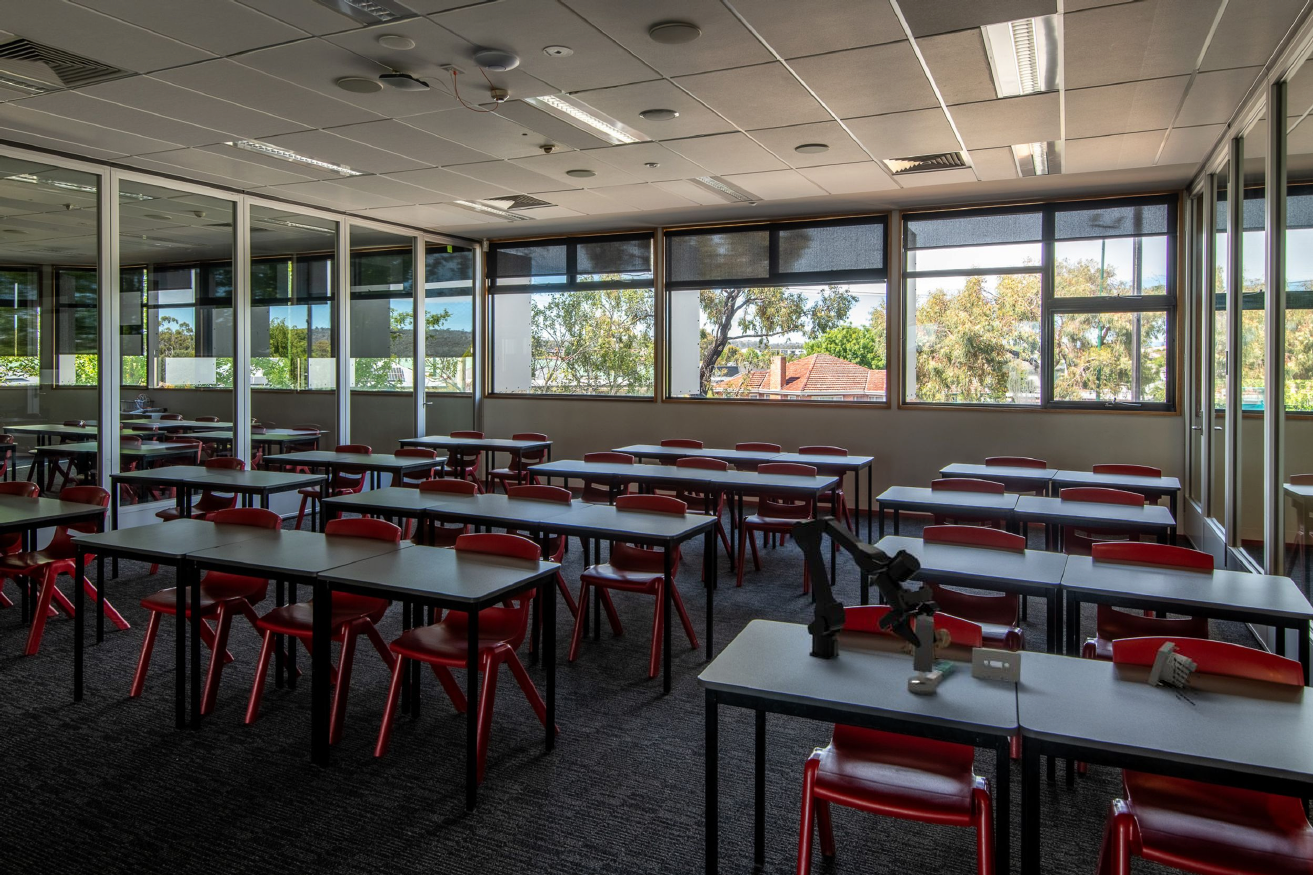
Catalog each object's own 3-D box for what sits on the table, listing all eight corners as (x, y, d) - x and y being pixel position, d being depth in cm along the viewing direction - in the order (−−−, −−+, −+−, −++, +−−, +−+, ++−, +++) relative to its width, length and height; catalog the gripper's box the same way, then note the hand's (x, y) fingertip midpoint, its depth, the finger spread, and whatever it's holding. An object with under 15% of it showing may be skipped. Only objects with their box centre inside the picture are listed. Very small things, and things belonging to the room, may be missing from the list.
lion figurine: (953, 660, 235) (954, 628, 234) (945, 664, 231) (946, 633, 230) (904, 648, 244) (905, 618, 244) (895, 652, 240) (896, 622, 240)
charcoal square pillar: (913, 670, 209) (915, 620, 208) (913, 664, 213) (914, 615, 212) (932, 672, 208) (933, 621, 207) (931, 666, 212) (932, 616, 211)
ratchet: (903, 691, 211) (903, 672, 210) (936, 666, 229) (937, 648, 229) (930, 698, 206) (931, 678, 206) (962, 671, 225) (963, 653, 225)
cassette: (1019, 680, 219) (1021, 652, 218) (1020, 683, 217) (1021, 654, 217) (971, 674, 223) (972, 646, 223) (971, 676, 221) (972, 648, 221)
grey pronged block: (1134, 674, 224) (1136, 638, 223) (1180, 676, 223) (1182, 640, 222) (1183, 713, 198) (1186, 673, 197) (1235, 716, 196) (1238, 676, 196)
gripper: (888, 580, 207) (924, 635, 199) (935, 570, 218) (970, 622, 210) (863, 603, 214) (896, 657, 206) (909, 593, 225) (942, 644, 217)
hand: (927, 644), depth 209 cm, fingers closed on charcoal square pillar, 6 cm apart
